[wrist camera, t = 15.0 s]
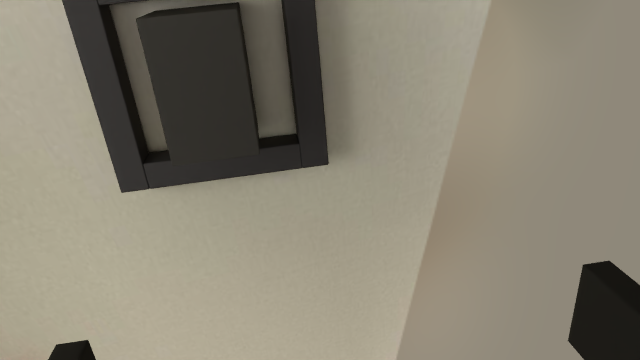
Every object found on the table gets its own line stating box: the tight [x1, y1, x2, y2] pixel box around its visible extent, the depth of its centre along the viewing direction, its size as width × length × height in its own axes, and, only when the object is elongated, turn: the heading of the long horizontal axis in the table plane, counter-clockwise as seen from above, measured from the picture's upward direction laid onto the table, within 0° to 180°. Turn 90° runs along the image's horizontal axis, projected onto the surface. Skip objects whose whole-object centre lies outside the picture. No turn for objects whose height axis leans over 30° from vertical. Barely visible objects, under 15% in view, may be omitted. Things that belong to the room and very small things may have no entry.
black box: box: [136, 2, 260, 166], centre depth 26 cm, size 5×8×5 cm, turn 5°
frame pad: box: [62, 0, 329, 193], centre depth 28 cm, size 14×13×2 cm
